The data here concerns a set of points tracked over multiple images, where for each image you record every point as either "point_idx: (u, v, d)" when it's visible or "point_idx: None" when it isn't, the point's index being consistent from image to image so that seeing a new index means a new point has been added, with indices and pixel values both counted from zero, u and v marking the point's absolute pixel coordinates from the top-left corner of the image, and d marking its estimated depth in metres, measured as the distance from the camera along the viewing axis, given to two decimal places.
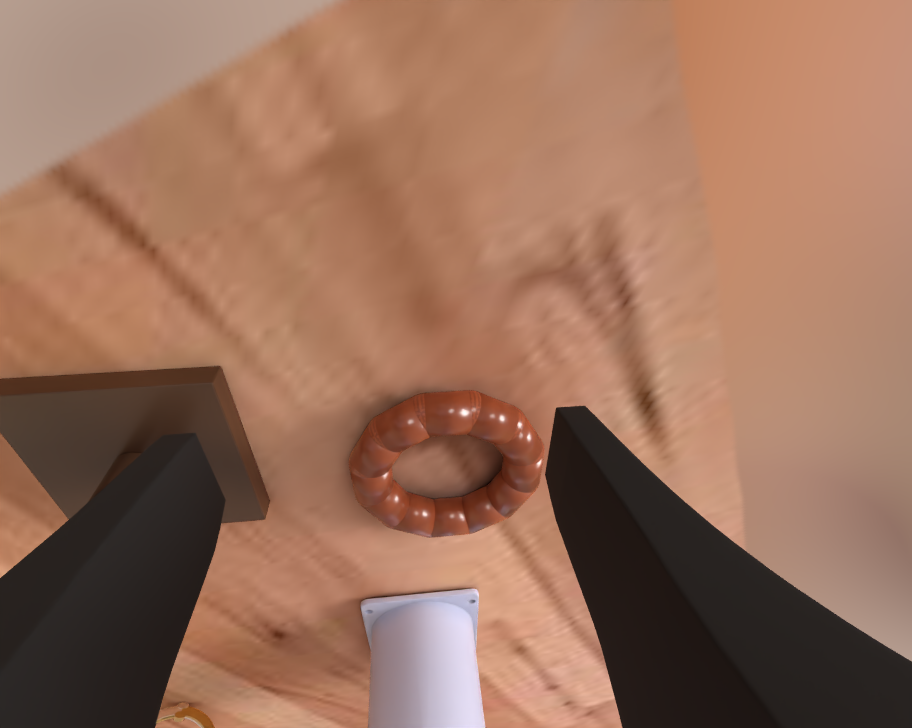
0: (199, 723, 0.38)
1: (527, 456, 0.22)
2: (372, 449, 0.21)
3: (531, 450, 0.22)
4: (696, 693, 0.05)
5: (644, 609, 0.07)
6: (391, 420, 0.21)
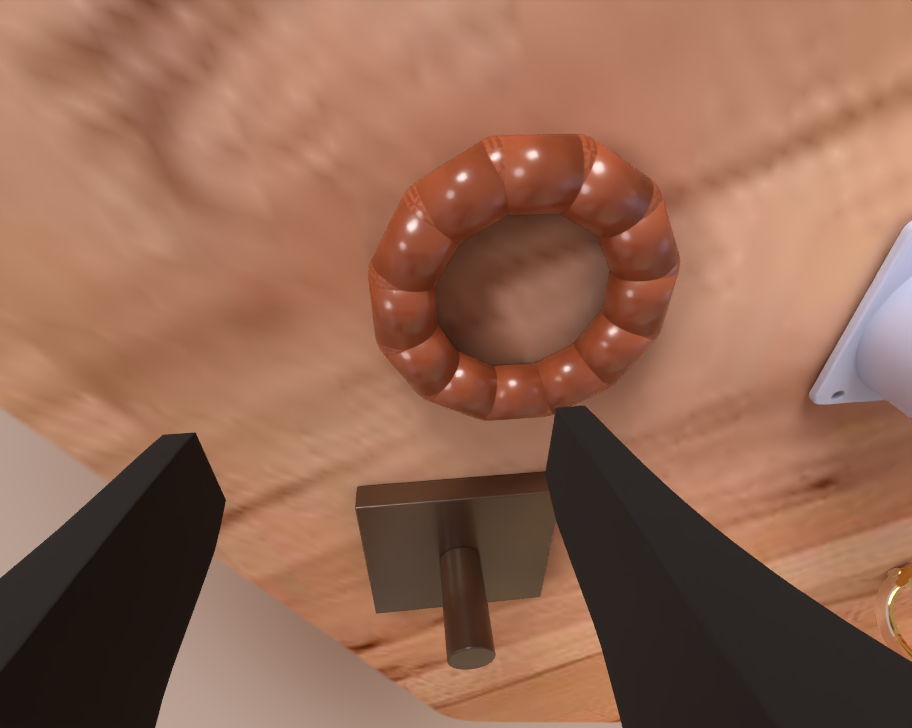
0: None
1: (482, 190, 0.12)
2: (443, 403, 0.16)
3: (471, 181, 0.12)
4: (697, 693, 0.05)
5: (644, 610, 0.07)
6: None
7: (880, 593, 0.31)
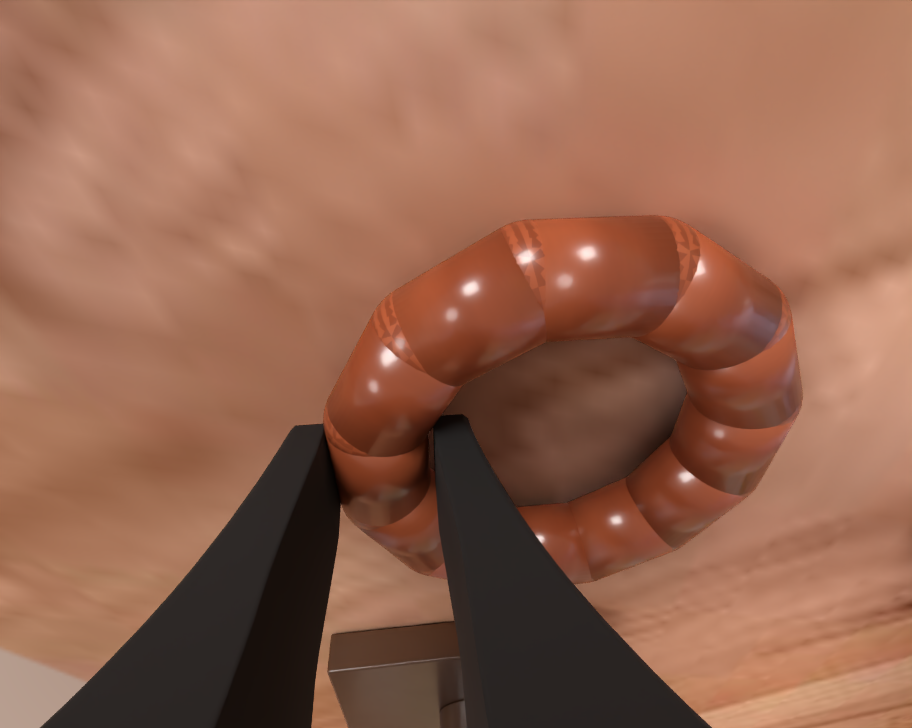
0: None
1: (505, 317, 0.07)
2: (441, 577, 0.11)
3: (487, 303, 0.07)
4: (479, 719, 0.05)
5: (466, 629, 0.06)
6: None
7: None
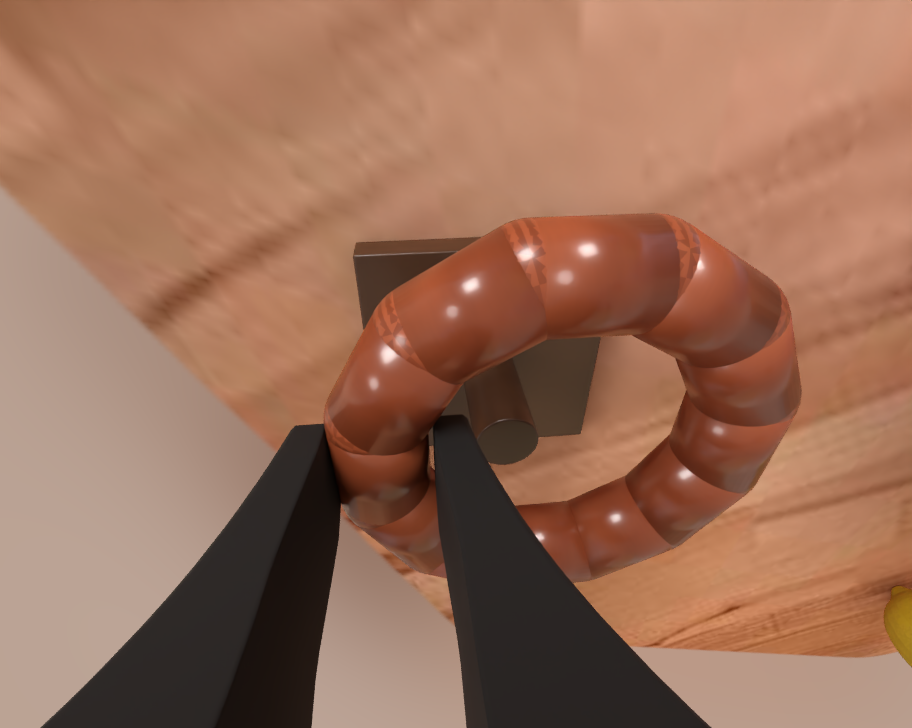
0: None
1: (506, 315, 0.07)
2: (441, 576, 0.11)
3: (488, 301, 0.07)
4: (478, 720, 0.05)
5: (465, 629, 0.06)
6: None
7: None
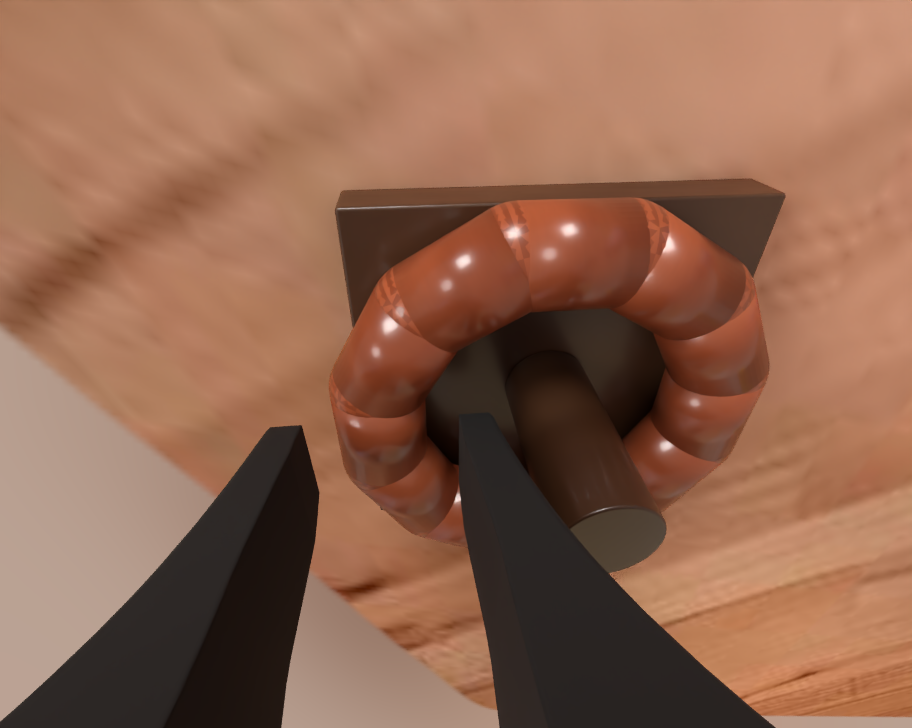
0: None
1: (494, 286, 0.08)
2: (436, 539, 0.12)
3: (477, 273, 0.08)
4: (525, 714, 0.05)
5: (504, 624, 0.06)
6: None
7: None
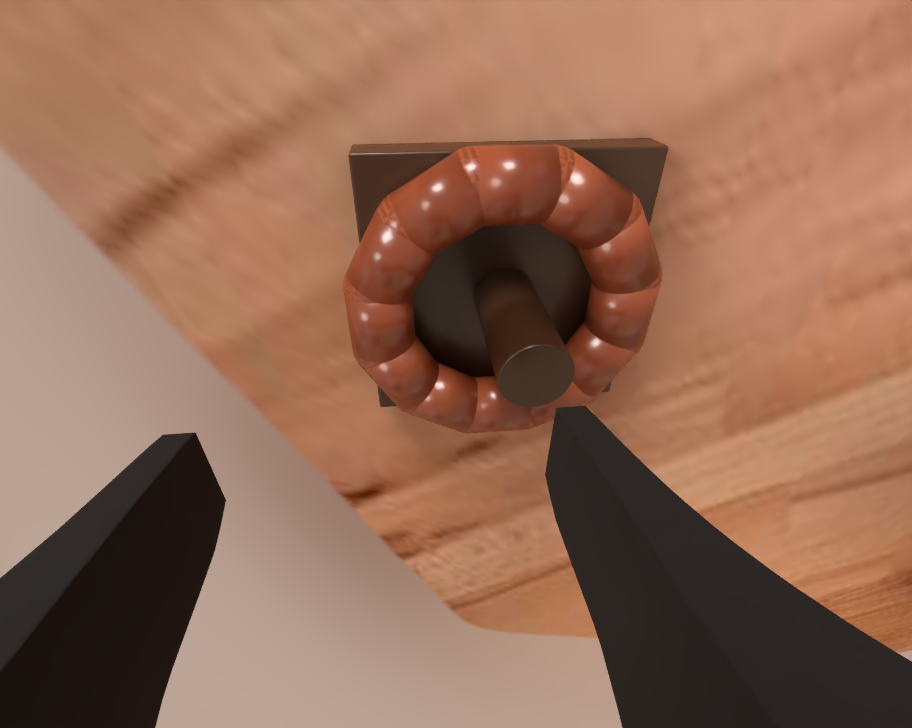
0: None
1: (457, 201, 0.12)
2: (423, 416, 0.16)
3: (445, 192, 0.12)
4: (696, 693, 0.05)
5: (644, 609, 0.07)
6: (382, 389, 0.16)
7: None
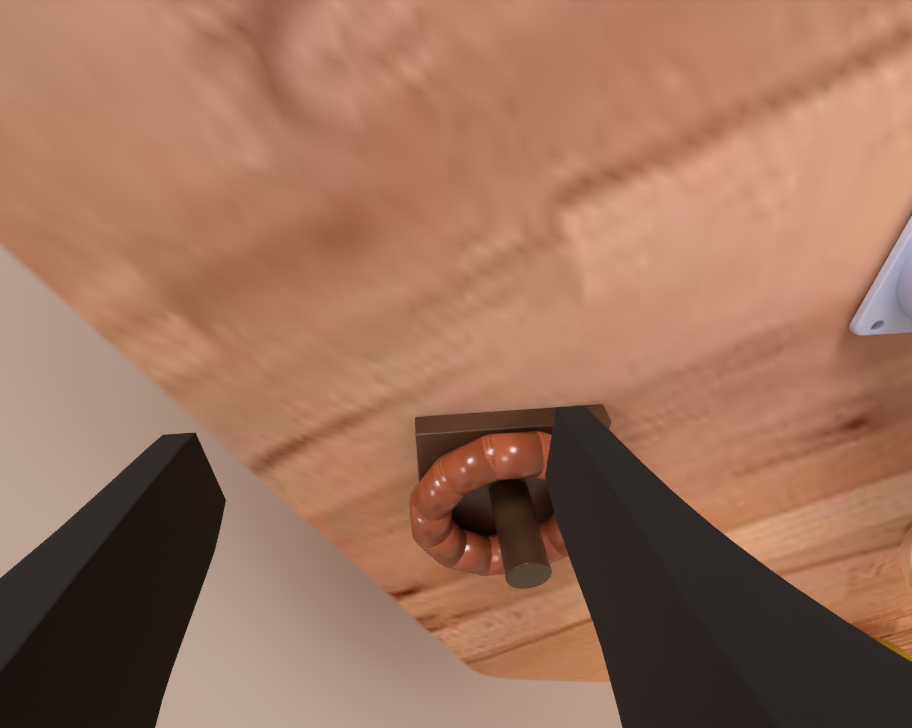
0: None
1: (482, 476, 0.20)
2: (455, 569, 0.24)
3: (476, 471, 0.20)
4: (696, 693, 0.05)
5: (643, 609, 0.07)
6: None
7: (905, 542, 0.32)
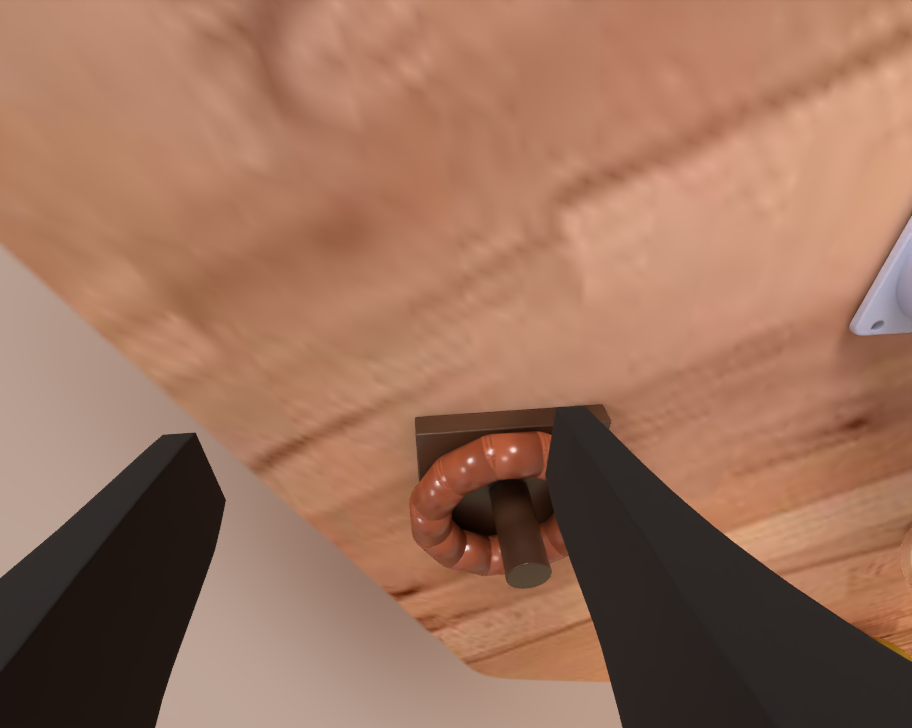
0: None
1: (482, 476, 0.20)
2: (455, 569, 0.24)
3: (476, 471, 0.20)
4: (696, 693, 0.05)
5: (643, 609, 0.07)
6: None
7: (905, 542, 0.32)
